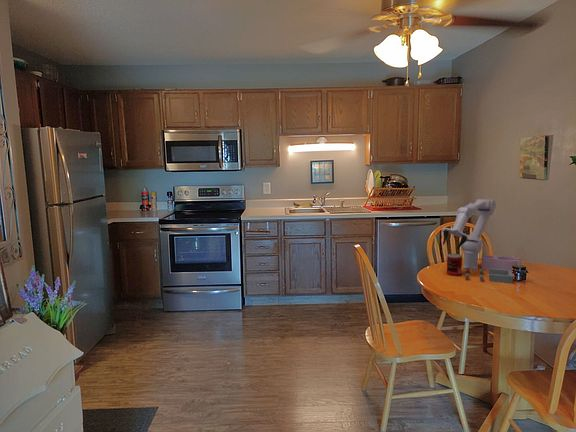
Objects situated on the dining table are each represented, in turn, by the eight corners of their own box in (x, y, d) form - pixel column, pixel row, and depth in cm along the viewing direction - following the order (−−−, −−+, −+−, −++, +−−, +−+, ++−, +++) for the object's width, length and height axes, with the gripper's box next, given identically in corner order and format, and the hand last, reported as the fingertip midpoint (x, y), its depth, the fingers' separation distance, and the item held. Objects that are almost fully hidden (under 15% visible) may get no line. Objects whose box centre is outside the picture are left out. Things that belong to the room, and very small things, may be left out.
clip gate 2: (480, 272, 227) (480, 268, 227) (483, 272, 226) (483, 268, 226) (479, 281, 210) (480, 276, 210) (483, 281, 209) (483, 277, 209)
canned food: (458, 272, 228) (459, 253, 226) (463, 276, 220) (464, 256, 218) (444, 272, 229) (445, 253, 227) (449, 276, 221) (449, 256, 219)
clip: (480, 270, 232) (481, 258, 231) (482, 265, 243) (482, 254, 242) (520, 274, 222) (521, 262, 222) (520, 269, 233) (520, 257, 232)
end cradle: (488, 274, 223) (488, 268, 222) (510, 276, 218) (511, 270, 218) (489, 280, 211) (489, 274, 210) (512, 283, 206) (512, 276, 206)
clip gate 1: (466, 271, 230) (466, 266, 230) (469, 271, 229) (469, 267, 229) (465, 279, 213) (465, 275, 213) (468, 280, 212) (468, 275, 212)
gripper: (446, 218, 224) (437, 238, 220) (473, 226, 218) (464, 248, 214) (445, 223, 230) (437, 243, 226) (472, 232, 224) (463, 253, 220)
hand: (450, 246), depth 221 cm, fingers open, 7 cm apart
